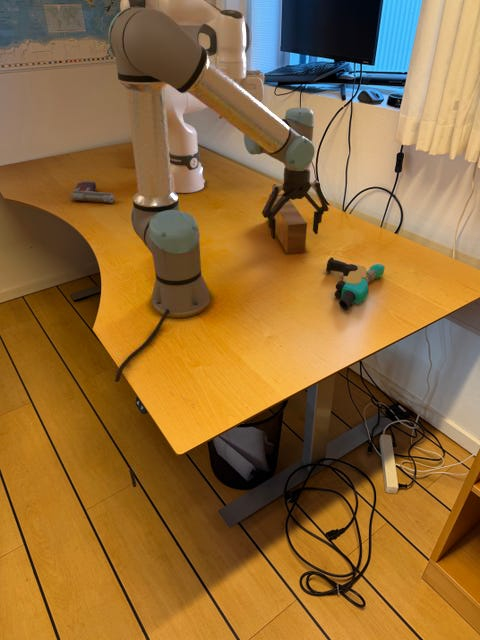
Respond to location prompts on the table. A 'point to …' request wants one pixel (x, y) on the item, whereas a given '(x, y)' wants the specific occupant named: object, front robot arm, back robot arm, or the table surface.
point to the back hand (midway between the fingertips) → (233, 117)
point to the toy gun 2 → (353, 281)
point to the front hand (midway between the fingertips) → (294, 234)
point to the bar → (290, 227)
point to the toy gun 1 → (90, 193)
